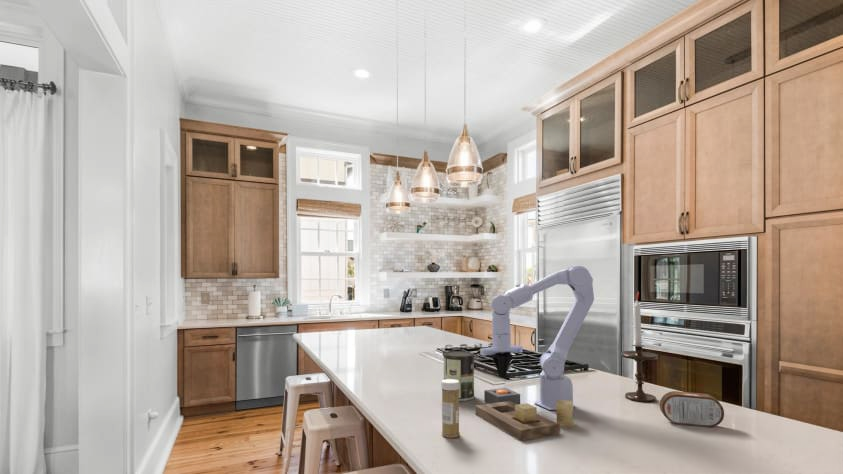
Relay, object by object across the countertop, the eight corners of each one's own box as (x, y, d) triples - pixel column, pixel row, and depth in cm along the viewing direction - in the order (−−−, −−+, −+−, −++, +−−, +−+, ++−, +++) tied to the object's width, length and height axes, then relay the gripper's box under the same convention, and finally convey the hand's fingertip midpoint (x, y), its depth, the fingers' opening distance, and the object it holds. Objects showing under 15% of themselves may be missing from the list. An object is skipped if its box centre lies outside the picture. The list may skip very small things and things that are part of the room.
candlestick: (667, 401, 142) (662, 291, 144) (641, 405, 138) (637, 291, 140) (639, 392, 152) (635, 290, 155) (614, 395, 148) (611, 290, 151)
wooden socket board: (510, 409, 133) (510, 400, 133) (559, 434, 112) (559, 423, 113) (475, 414, 128) (475, 405, 128) (520, 440, 108) (520, 430, 108)
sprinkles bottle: (463, 436, 111) (463, 381, 112) (448, 439, 108) (448, 383, 110) (452, 430, 115) (452, 377, 116) (437, 434, 112) (437, 379, 113)
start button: (503, 396, 141) (503, 389, 141) (510, 399, 138) (510, 391, 138) (494, 397, 140) (493, 390, 140) (500, 400, 136) (500, 392, 137)
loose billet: (558, 421, 122) (557, 399, 122) (573, 423, 120) (572, 401, 121) (556, 426, 118) (556, 403, 119) (572, 428, 117) (571, 405, 117)
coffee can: (472, 392, 151) (472, 350, 152) (476, 401, 141) (475, 356, 142) (442, 392, 151) (442, 350, 153) (443, 401, 141) (443, 356, 142)
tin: (722, 426, 119) (720, 394, 120) (726, 430, 116) (724, 397, 117) (660, 420, 124) (658, 389, 124) (662, 424, 121) (661, 392, 121)
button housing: (505, 398, 144) (505, 387, 144) (520, 405, 136) (520, 394, 137) (484, 401, 141) (484, 390, 141) (498, 408, 133) (498, 396, 134)
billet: (527, 426, 118) (527, 403, 119) (537, 431, 115) (536, 407, 115) (515, 428, 117) (514, 405, 117) (524, 433, 113) (523, 409, 114)
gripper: (513, 330, 147) (514, 372, 146) (475, 333, 141) (475, 376, 140) (526, 333, 140) (527, 377, 139) (486, 335, 135) (487, 381, 134)
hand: (502, 377), depth 139 cm, fingers closed
